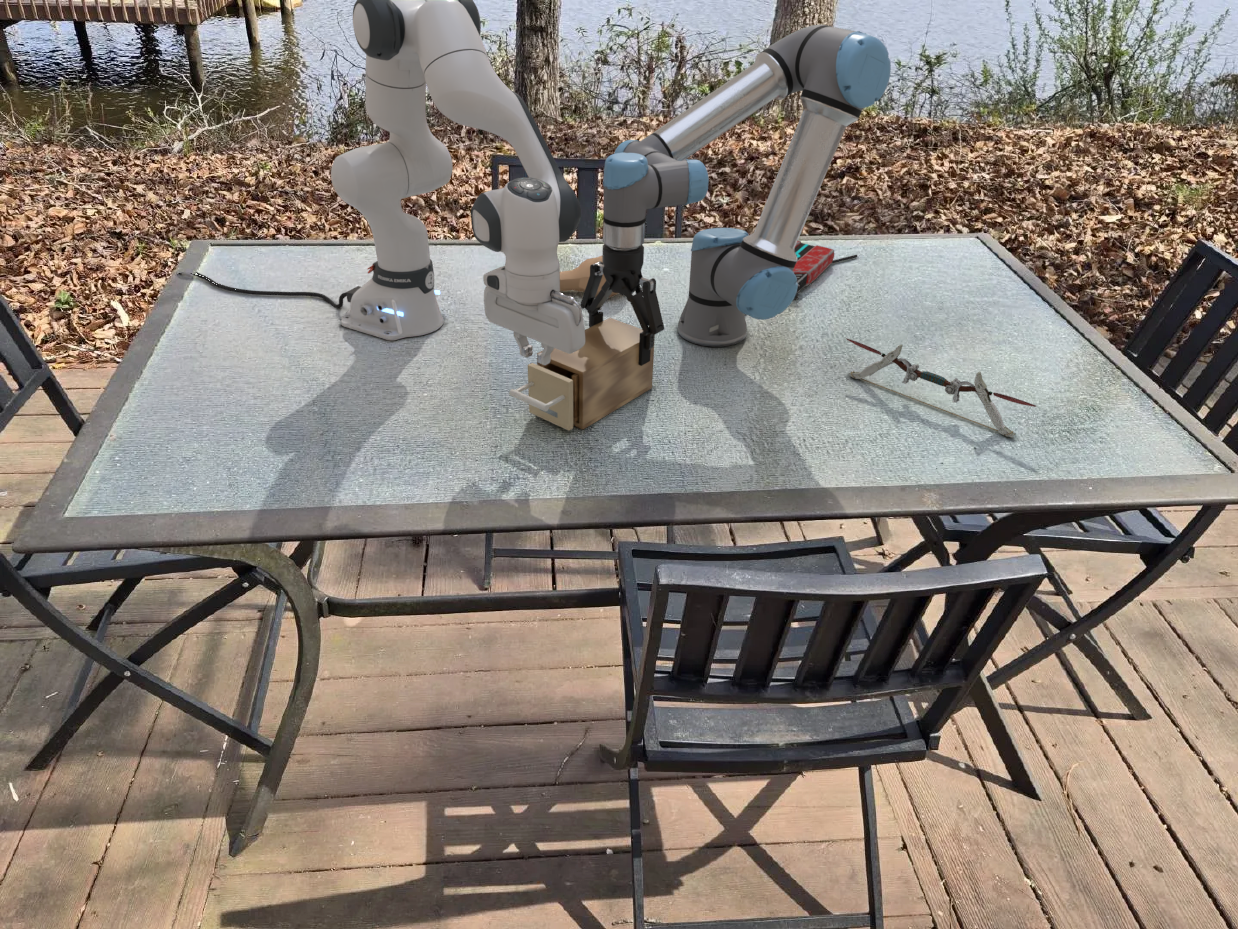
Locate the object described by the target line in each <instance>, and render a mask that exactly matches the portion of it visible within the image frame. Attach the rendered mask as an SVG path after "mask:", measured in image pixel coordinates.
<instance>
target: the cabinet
mask: <svg viewBox="0 0 1238 929" xmlns="http://www.w3.org/2000/svg"><path fill="white" fill-rule="evenodd" d="M642 332H643V330H642V328H641V327H637V326H635V325H632V324H629V323H626V322H624V321H620V320H617V319H615V318H612V317H608V318H607V319H603V321H602V322H600V323H598V324H596V325H594V326H592V327H590V328H589V327H588V328H585V345H584V346H583V347H582V348H581V349H579V350H577V351H575V352H573V353H571V354H568V353H566V352H563V351H561V350H558V349H556V348H554V349H553V351H552V353H551V361H550V363H551V364H553V365H556V366H558V367H561V368H563V369H565V370H568V371H570V372H573V373H575V374H577V375H579V420H578V421H576V422H574V421H573V427H576V428H578V429H580V430H585V429H587V428H589V427H590V426H591V425H594V424H595V423H597V422H598V421H600V420H602V419H603V418H605V417H607V416H608V415H610V414H612V413H613V412H615V411H617V410H618V409H621V407H623V406H626V405H627V404H628V403H630V402H631V401H634V400H635V399H636V398H639V397H640V396H642V395H643V394H645V393H646V392H648V391H650V390H651V389H653V379H654V378H653V377H654V361H655V360H654V358H655V357H654V356H655V346H654V347H653V348H652V349H651V355H650V361H649V362H648V363H646V364H644V365H642V366H640V365H638V364H639V339H640V333H642ZM655 338H656V334H655V335H654V342H655V341H656V340H655ZM542 352H543V350H541V351H538V352H537V353H536V355H537V354H539V353H542ZM537 360H538V358H537V357H536V365H538V366H541V364H540V363H538V362H537Z"/></svg>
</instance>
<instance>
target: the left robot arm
mask: <svg viewBox="0 0 1238 929" xmlns="http://www.w3.org/2000/svg"><path fill="white" fill-rule="evenodd" d="M481 22H482V21H481V16H480V12H479V9H478V6H477V5H476V3H475V1H474V0H356V1H355V3H354V5H353V8H352V26H353V27H352V28H353V32H354V37H355V40H356V43H357V45H358V46H359V48H360V49H361V51H362V52H363V53H364V54H365V110H366V114H367V115H368V117H369V119H370V121H372V123H373V124H375V126H377V127H379V128H380V129H382V130H384V131H386V132H388V133H389V138H388V141H386V142H383V143H377V144H371V145H365V146H360V147H356V148H353V149H350V150H349V151H346V152H344V153H341V154H339V155H337V156H336V157H335V158H334V160H333V162H332V165H331V169H330V179H331V184H332V187H333V189H334V191H335V193H336V194H337V196H338V197H339V198H340V199H341V200H342V201H343V202H344V203H346V204H347V205H349V206H351V207H353V208H354V209H356V210H357V211H358V212H359V213H360V214H361V215H362V216H363V218H364V219H365V220H366V222H367V224H368V225H369V228H370V230H371V233H372V237H373V243H374V248H375V253H376V254H375V255H376V261H374V262H373V263H372V265H371V266H369V267H368V268H367V274H370V273H372V277H371V278H370V279H369V280H367V282H365V283H364V284H363V285H362V286H359V285H358V286H355V287H353V288H351V289H349V290H347V291H344V292H343V293H341V294H339V297H338V304H336V303H335V302H334V301H333V300H331V298H330V297H329V296H327V295H325V294H323V293H320V292H313V291H279V290H278V291H275V290H274V291H273V290H252V289H243V288H237V287H234V286H233V287H232V286H229V285H226V284H222V285H221V283H219V282H217V281H215V280H213V279H212V278H211V277H209V276H207V275H205V274H202V273H200V272H197V271H196V273H197V274H198V275H195V274H192V273H190V274H191V275H192V276H195V277H197V278H199V279H201V280H204V281H206V282H207V283H209V284H211V285H212V286H214V287H215V288H218V289H221V290H224V291H228V292H231V293H238V294H244V295H255V296H279V297H281V296H282V297H315V298H319V299H322V300H324V301H325V302H326V303H328V304H329V305H331V306H332V307H333V308H334V309H342V308H343V306H344V299H345V298H346V301H347V303H350V305H349V310H347V311H346V313H344V314H343V316H342V317H341V320H340V324H341V326H342V327H344V328H347V329H350V330H354V331H357V332H360V333H364V334H367V335H370V336H373V337H377V338H380V339H383V340H387V341H396V340H397V341H398V340H401V339H404V338H412V337H420V336H423V335H427V334H430V333H431V334H432V333H434V332H436V331H437V330H439V329H441V327H442V326H443V325H444V323H445V320H444V317H443V314H442V312H441V310H440V307H439V303H438V300H437V296H436V295H438V296H439V295H441V290H439V289H435V271H434V264H433V260H432V259H431V253H430V245H429V244H430V243H429V232H428V229H427V227H426V225H425V223H424V222H423V221H422V220H421V219H420V218H419V217H417V216H415V215H412V214H409V213H407V212H404V211H403V210H404V209H403V207H402V200H403V199H406V198H411V197H416V196H419V195H424V194H425V195H426V194H430V193H431V192H434V191H436V190H438V189H440V188H442V187H443V186H446V185H447V184H448V183H449V182H450V180H451V178H452V174H453V169H454V168H453V159H452V155H451V153H450V151H449V150H448V148H447V146H446V145H445V144H444V143H443V142H442V141H441V140H440V139H438V138H437V137H436V136H434V134H433V133H432V131H431V129H430V127H429V125H428V120H427V112H426V111H427V110H426V105H427V104H426V101H427V99H426V98H427V96H426V95H427V90H428V93H429V95H430V97H431V100H432V102H433V103H434V105H435V107H436V109H437V110H438V112H440V113H441V114H442V115H443V116H445V117H446V118H447V119H449V120H451V121H452V122H454V123H456V124H459V125H460V126H464V127H468V128H473V129H477V130H481V131H486V132H487V133H491V134H492V135H496V136H498V137H500V138H501V139H503V140H505V141H506V142H508V143H509V145H510V146H511V147H512V148H513V149H514V151H515V153H516V155H517V157H518V159H519V161H520V163H521V165H522V167H523V169H524V171H525V173H526V175H527V177H525V176H524V177H517V178H513V179H512V180H510V181H508V182H507V183H506V184H505V185H504V187H501V188H497V189H492V190H488V191H485V192H481V193H480V194H479V195H478V196H477V197H476V199H475V201H474V202H473V205H472V207H471V210H470V221H471V228H472V233H473V236H474V239H475V240H476V241H477V242H479V243H480V244H481V245H482V246H484V247H485V248H487V249H488V250H491V251H492V252H495V253H503V254H504V257H505V261H504V262H505V263H504V265H503V266H500V267H498V268H495V269H492V270H490V271H488V272H486V273H484V274H483V276H482V279H483V284H484V285H485V288H484V290H483V308H484V314H485V317H486V319H487V320H488V322H489V323H492V324H494V325H496V326H499V327H501V328H503V329H506V330H509V331H511V332H513V338H514V340H515V341H516V344H517V346H518V347H519V356H521V357H523V358H526V359H528V358H529V357H532V356H533V355H534V351H533V350H534V348H533V345H531V344H530V343H529V340H528V339H530V340H533V341H536V342H539V343H540V347H541V348H542V351H543V352H542V353H539V352H538V353H539V354H537V353H536V363H537V362H538V363H540V364H543V365H547V364H549V363H550V361H551V353H552V351H553V349H554V348H556V349H558V350H561V351H563V352H566V353H568V354H571V353H573V352H575V351H577V350H579V349H581V348H582V347H583V346H584V345H585V330H586V328H585V322H584V316H583V308H581V306H580V304H579V302H578V301H576V298H575V297H573V296H571V295H566V294H564V293H562V292H561V291H560V272H561V269H560V268H561V266H560V265H561V264H560V260H559V256H558V247H559V245H560V244H559V243H565V242H567V241H568V240H569V239H571V237H572V236H573V235H574V233H575V232H576V230H577V229H578V226H579V224H580V222H581V219H582V209H581V204H580V201H579V198H578V196H577V194H576V193H575V191H574V189H573V188H572V187H571V185H570V183H568V181H567V179H566V178H565V177H564V175H563V174H562V171H561V170H560V168H559V166H558V164H557V162H556V160H555V158H554V156H553V154H552V151H551V150H550V148H549V146H548V144H547V142H546V140H545V138H544V136H543V134H542V132H541V130H540V128H539V126H538V124H537V122H536V121H535V119H534V116H533V115H532V113H531V110H530V109H529V107H528V106H527V104H526V102H525V101H524V99H523V98H522V97H521V95H520V94H518V93H517V92H515V91H513V90H512V89H511V88H509V87H508V86H507V85H506V84H505V83H504V82H503V81H502V79H501V78H500V77H499V76H498V74H497V73H496V71H495V69H494V68H493V66H492V64H491V62H490V59H489V56H488V54H487V50H486V47H485V45H484V42H483V40H482V37H481V32H482V29H481V28H482V23H481ZM176 275H178V274H177V272H176ZM199 275H201V276H199ZM202 276H204V277H202ZM206 276H207V277H206ZM208 277H209V278H208ZM206 278H207V279H206ZM208 279H209V280H210V281H209V280H208ZM212 282H214V283H215V284H214V283H212ZM216 282H217V283H216ZM218 283H219V284H218ZM216 284H217V285H216ZM235 289H236V290H235ZM537 358H538V360H537Z"/></svg>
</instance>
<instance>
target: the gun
mask: <svg viewBox="0 0 1238 929" xmlns="http://www.w3.org/2000/svg"><path fill="white" fill-rule="evenodd" d="M794 251H795V253H796V256H797V262H796V265H795V267H794V269H793V272H794V274H795V276H796V278H797V281H796V282H797V283H798V288H797V292H796V295H795V297H794V299H793V300H797V299H799V293H800V292H801V291H802V290H803V289H804V288H805V287H808V286H809V285H811V284H812V283H813V282H814V281H815V280H817V278H819V277H820V275H822V274H823V273H824V271H826V270H827V268H829V266H831V265H832V264H833V263H832V261H833V260H835V259H834V258H835V249H833V248H830V247H827V246H821V245H812V244H810V243H809V244H808V243H804V242H802V241H801V240H799V239H798V241H797V243H796V245H795V248H794ZM831 263H832V264H831Z"/></svg>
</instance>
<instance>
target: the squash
mask: <svg viewBox="0 0 1238 929" xmlns="http://www.w3.org/2000/svg"><path fill="white" fill-rule="evenodd" d="M599 261H601V262H602V255H599V256H597V257H591V258H586V259H585V260H583V261H582V262H580V264H579V265H578V266H577V267H575V268H574V269H571V270H563V271H562V270H561V271H560V292H571V291H572V292H573V291H574V292H579V293H584V292H585V289H586V286H587V283H588V280H589V277H590V265H592V264H594V263H597V262H599ZM602 263H603V262H602ZM605 282H606V279H605V276H604V274H603V276H602V279H601V282H600V285H599V287H598V290H597V293H596V296H597V295H598V293H599V292H600V291H601V287H602V286H603V285H604V283H605ZM617 295H619V293H614V292H612V293H611V295H610V296H609V297H608V299H610V298H613V297H615V296H617ZM596 296H595V298H596Z"/></svg>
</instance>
